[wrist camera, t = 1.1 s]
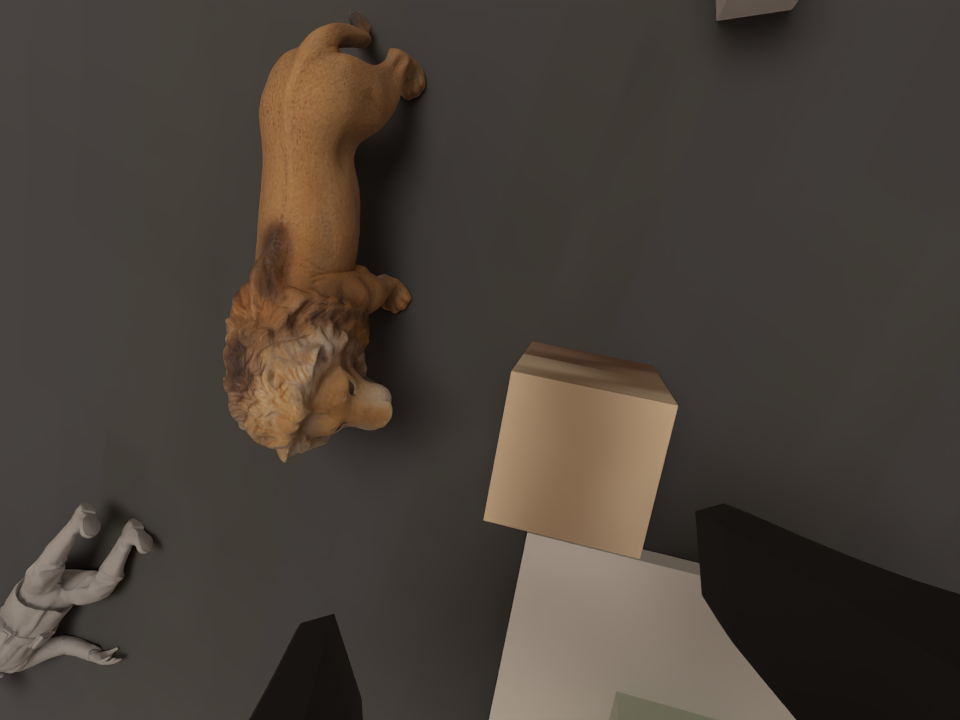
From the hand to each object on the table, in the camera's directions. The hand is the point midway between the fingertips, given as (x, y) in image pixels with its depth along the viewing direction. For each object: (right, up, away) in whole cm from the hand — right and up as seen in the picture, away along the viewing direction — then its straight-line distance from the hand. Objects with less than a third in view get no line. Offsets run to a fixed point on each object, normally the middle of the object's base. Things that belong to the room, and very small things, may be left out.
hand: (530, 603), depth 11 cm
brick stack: (+3, +3, +11) cm, 12 cm away
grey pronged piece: (-21, -6, +18) cm, 28 cm away
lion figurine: (-5, +10, +12) cm, 16 cm away
